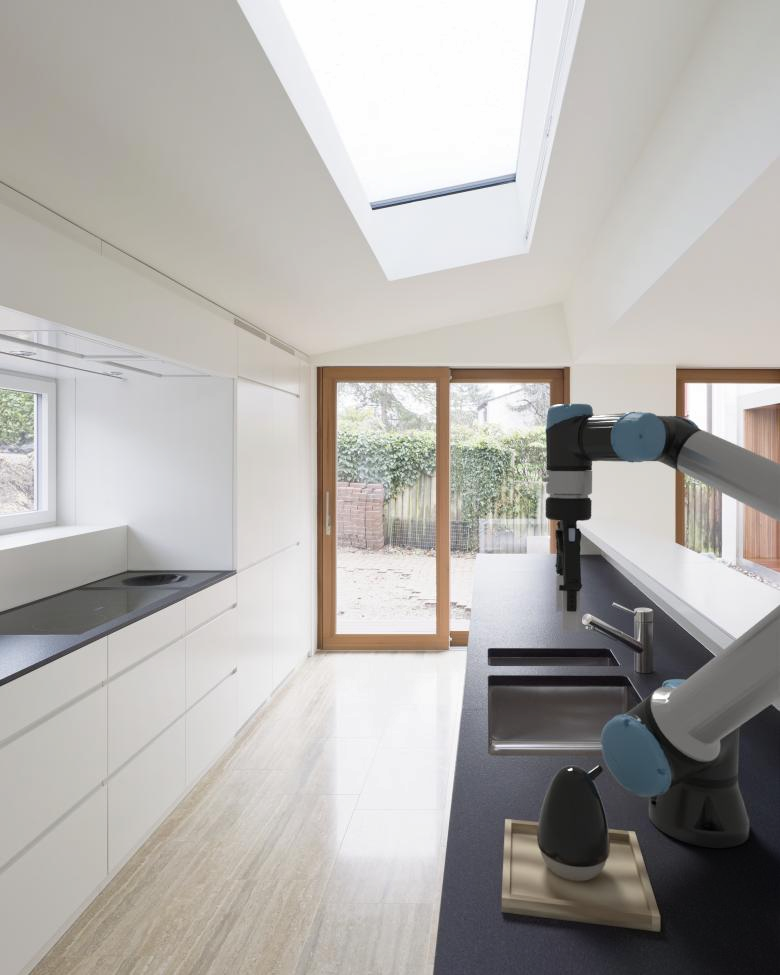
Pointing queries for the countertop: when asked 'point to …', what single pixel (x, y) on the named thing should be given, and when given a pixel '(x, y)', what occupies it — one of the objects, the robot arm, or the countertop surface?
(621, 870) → the birch tray
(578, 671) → the countertop surface
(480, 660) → the countertop surface
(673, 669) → the countertop surface
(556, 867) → the pump dispenser
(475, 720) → the countertop surface
